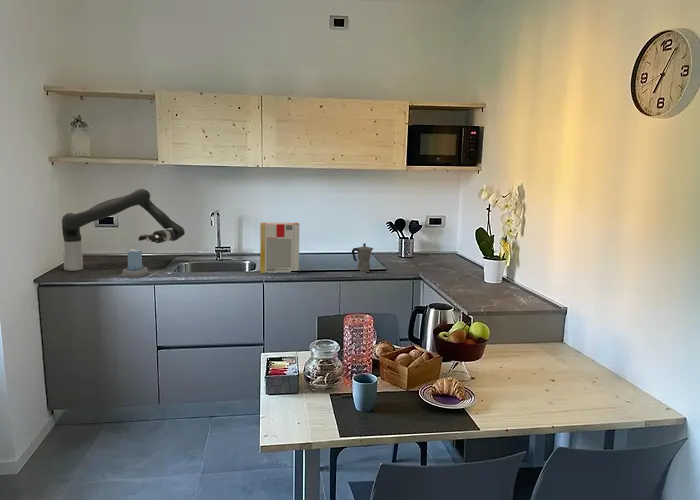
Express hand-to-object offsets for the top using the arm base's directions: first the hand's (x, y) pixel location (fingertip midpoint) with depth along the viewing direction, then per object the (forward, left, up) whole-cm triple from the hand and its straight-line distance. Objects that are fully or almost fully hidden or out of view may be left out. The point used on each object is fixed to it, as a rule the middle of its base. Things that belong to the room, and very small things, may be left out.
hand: (145, 239), depth 318 cm
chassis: (-4, -10, -19) cm, 22 cm away
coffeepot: (+129, +4, -19) cm, 131 cm away
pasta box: (+78, +1, -19) cm, 81 cm away
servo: (-4, -10, -18) cm, 21 cm away
